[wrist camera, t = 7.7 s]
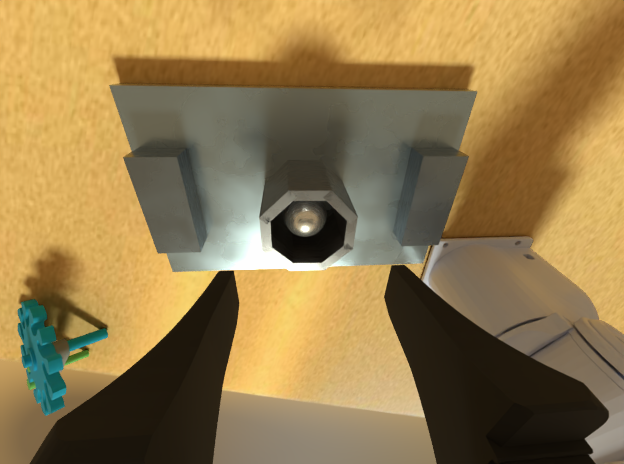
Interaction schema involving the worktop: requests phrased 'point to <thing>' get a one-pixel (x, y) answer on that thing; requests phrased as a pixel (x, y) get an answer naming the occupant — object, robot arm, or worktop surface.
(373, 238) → the shaft mount
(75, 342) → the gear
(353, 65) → the worktop surface
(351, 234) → the collar
